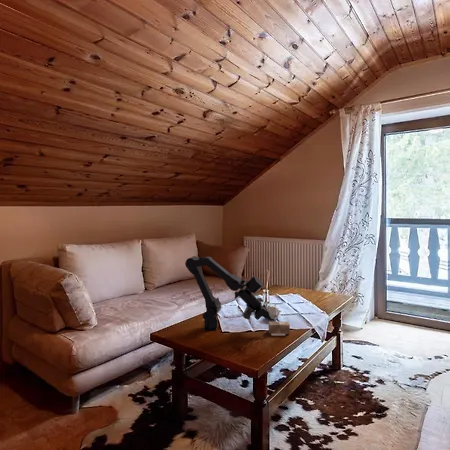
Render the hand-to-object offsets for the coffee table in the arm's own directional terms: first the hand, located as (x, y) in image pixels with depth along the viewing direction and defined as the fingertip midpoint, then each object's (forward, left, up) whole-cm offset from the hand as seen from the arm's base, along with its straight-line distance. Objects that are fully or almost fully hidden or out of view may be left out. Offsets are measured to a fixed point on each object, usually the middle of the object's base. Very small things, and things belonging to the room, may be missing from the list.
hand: (270, 319), depth 178 cm
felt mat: (+4, 0, -7) cm, 8 cm away
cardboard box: (-1, 0, -4) cm, 4 cm away
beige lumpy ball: (+3, +19, -7) cm, 21 cm away
